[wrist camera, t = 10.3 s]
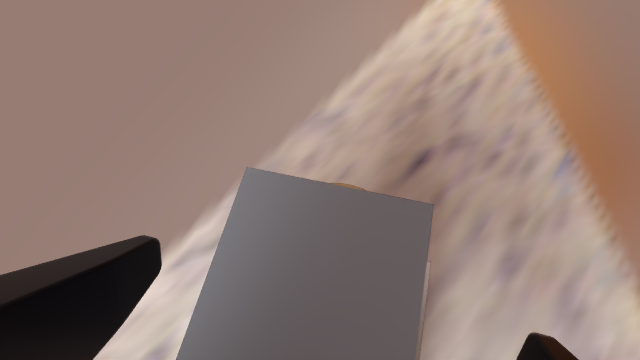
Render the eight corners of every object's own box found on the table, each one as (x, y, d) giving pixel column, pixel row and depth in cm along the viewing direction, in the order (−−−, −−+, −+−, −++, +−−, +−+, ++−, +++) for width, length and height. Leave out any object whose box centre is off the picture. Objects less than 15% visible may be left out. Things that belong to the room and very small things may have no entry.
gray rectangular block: (351, 409, 14) (373, 702, 3) (282, 387, 14) (94, 579, 4) (376, 265, 16) (441, 147, 5) (316, 250, 16) (265, 116, 6)
